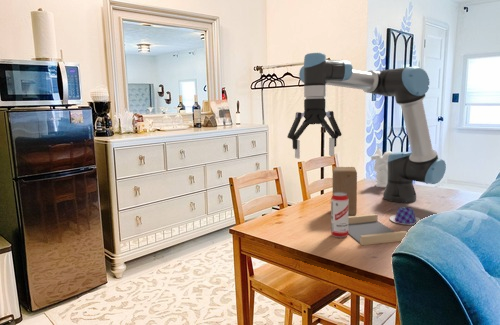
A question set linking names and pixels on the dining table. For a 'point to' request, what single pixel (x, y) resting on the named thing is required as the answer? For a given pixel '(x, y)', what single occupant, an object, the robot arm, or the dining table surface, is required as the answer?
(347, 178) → the wooden block
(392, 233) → the cradle
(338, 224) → the beer can
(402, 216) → the pudding
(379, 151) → the cherub figurine
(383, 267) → the dining table surface
